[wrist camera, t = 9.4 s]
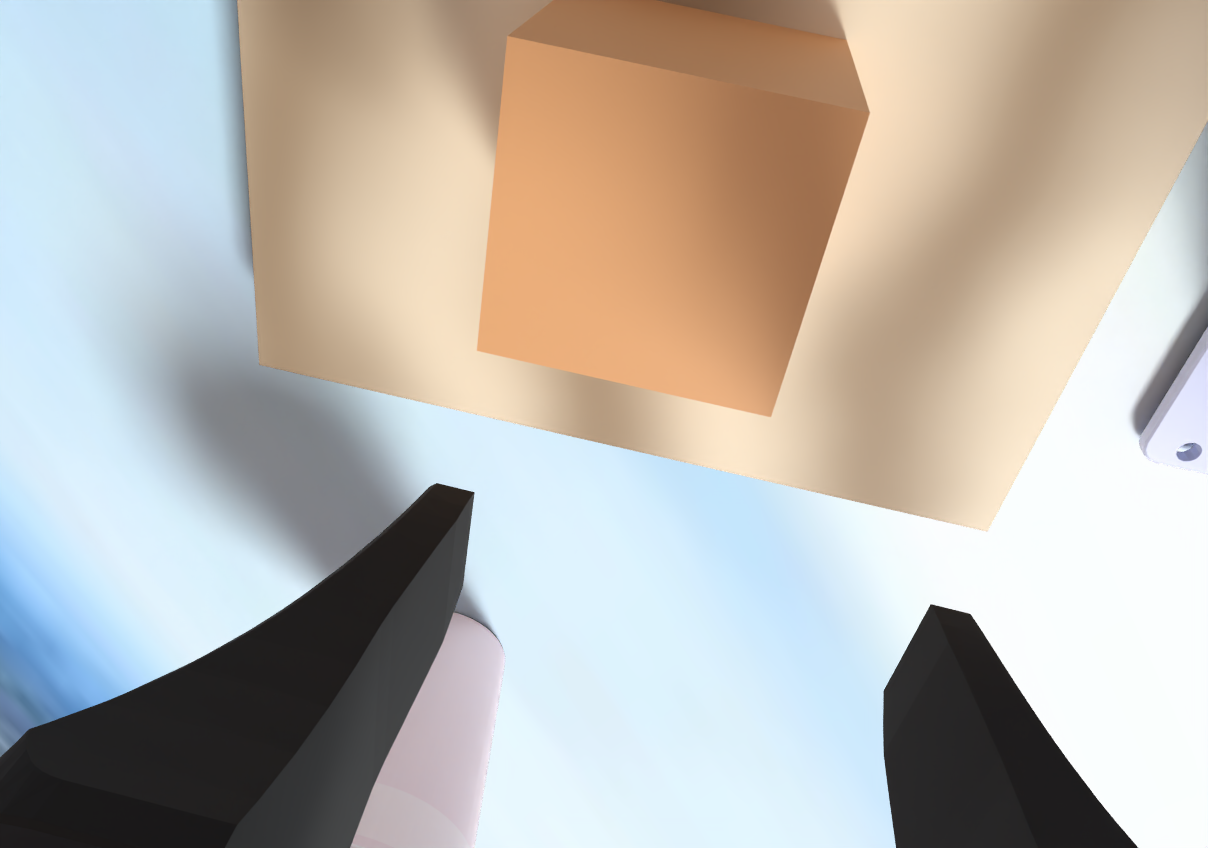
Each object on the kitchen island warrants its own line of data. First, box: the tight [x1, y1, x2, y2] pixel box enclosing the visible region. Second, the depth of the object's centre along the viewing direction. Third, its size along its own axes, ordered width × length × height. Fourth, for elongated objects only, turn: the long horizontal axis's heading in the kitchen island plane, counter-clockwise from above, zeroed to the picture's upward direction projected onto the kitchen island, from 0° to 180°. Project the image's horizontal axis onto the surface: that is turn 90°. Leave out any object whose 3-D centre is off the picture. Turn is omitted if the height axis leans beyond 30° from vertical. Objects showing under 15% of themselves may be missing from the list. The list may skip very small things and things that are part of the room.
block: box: [477, 0, 870, 417], centre depth 16 cm, size 5×5×5 cm
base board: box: [237, 0, 1208, 531], centre depth 19 cm, size 18×14×2 cm
